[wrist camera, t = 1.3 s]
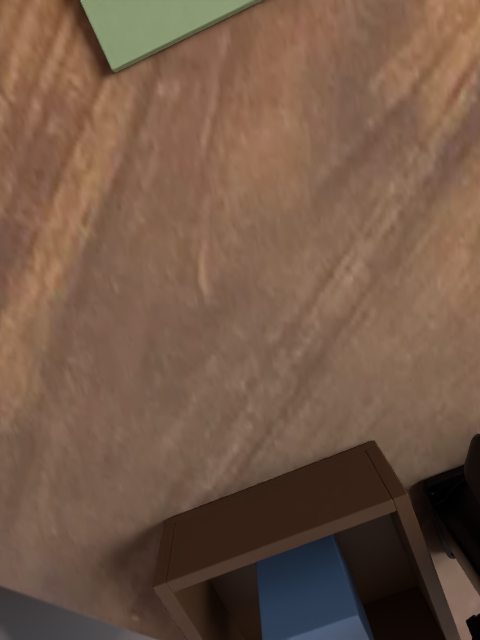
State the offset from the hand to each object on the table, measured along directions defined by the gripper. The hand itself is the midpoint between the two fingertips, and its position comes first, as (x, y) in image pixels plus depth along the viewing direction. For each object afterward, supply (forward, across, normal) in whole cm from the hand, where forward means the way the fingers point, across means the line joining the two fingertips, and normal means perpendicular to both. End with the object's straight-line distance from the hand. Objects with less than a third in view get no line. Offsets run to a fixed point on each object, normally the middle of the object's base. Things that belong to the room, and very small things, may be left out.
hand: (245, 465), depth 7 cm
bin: (+13, -6, +19) cm, 23 cm away
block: (+12, -6, +18) cm, 23 cm away
